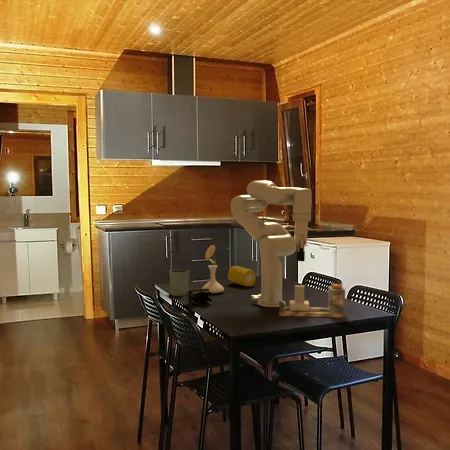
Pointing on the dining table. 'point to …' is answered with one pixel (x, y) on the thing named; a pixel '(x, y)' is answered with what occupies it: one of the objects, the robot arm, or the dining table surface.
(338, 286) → the button
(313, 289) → the dining table surface
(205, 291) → the end cap
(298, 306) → the carriage
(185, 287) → the green tapered cup
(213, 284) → the flower in vase
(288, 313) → the rail base
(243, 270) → the food
